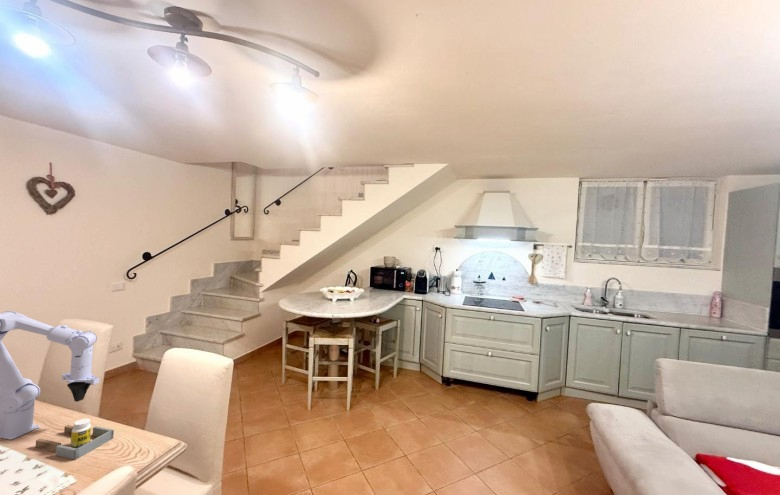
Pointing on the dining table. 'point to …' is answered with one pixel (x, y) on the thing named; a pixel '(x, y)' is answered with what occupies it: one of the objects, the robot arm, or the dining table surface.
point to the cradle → (74, 453)
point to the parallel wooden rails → (51, 444)
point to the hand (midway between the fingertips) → (79, 400)
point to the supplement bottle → (80, 433)
